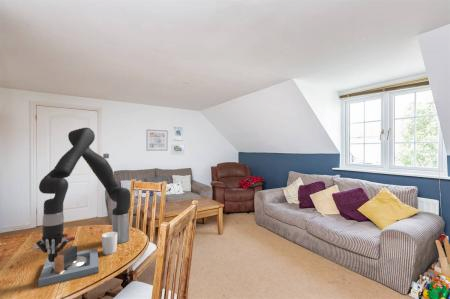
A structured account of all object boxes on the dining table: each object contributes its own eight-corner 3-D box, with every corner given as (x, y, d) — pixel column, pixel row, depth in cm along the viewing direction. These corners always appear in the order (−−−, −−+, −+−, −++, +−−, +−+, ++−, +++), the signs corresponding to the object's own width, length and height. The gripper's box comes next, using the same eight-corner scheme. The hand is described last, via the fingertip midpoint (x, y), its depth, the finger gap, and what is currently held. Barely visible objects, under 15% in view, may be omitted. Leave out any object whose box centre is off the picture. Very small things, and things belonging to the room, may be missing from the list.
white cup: (120, 250, 130) (120, 232, 130) (109, 256, 122) (109, 237, 122) (109, 248, 132) (109, 231, 132) (98, 254, 125) (98, 235, 125)
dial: (67, 260, 116) (67, 242, 116) (91, 260, 116) (91, 242, 116) (43, 279, 100) (43, 257, 99) (71, 278, 100) (71, 257, 100)
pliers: (28, 248, 132) (28, 243, 132) (66, 236, 150) (66, 232, 150) (36, 253, 126) (36, 248, 126) (75, 240, 144) (75, 236, 144)
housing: (97, 253, 125) (97, 248, 125) (98, 272, 106) (98, 266, 106) (46, 263, 114) (47, 257, 114) (38, 287, 95) (38, 279, 95)
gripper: (73, 219, 106) (73, 256, 106) (43, 220, 105) (42, 257, 105) (64, 225, 99) (63, 265, 99) (31, 225, 97) (30, 266, 97)
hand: (52, 261), depth 102 cm, fingers closed
